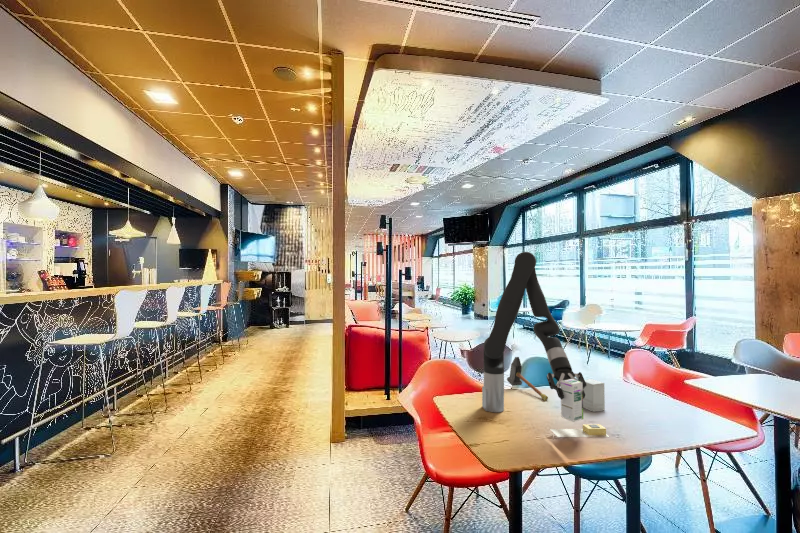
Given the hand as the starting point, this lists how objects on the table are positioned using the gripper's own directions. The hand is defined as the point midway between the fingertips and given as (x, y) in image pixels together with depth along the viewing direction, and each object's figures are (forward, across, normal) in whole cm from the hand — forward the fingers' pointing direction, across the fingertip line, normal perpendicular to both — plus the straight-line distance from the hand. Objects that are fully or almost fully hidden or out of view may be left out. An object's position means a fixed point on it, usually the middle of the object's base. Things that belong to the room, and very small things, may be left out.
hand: (572, 398), depth 141 cm
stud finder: (+9, +9, +10) cm, 16 cm away
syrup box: (+5, 0, +6) cm, 8 cm away
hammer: (-28, +4, +50) cm, 58 cm away
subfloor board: (+10, +3, +11) cm, 15 cm away
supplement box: (-10, +25, +32) cm, 42 cm away
